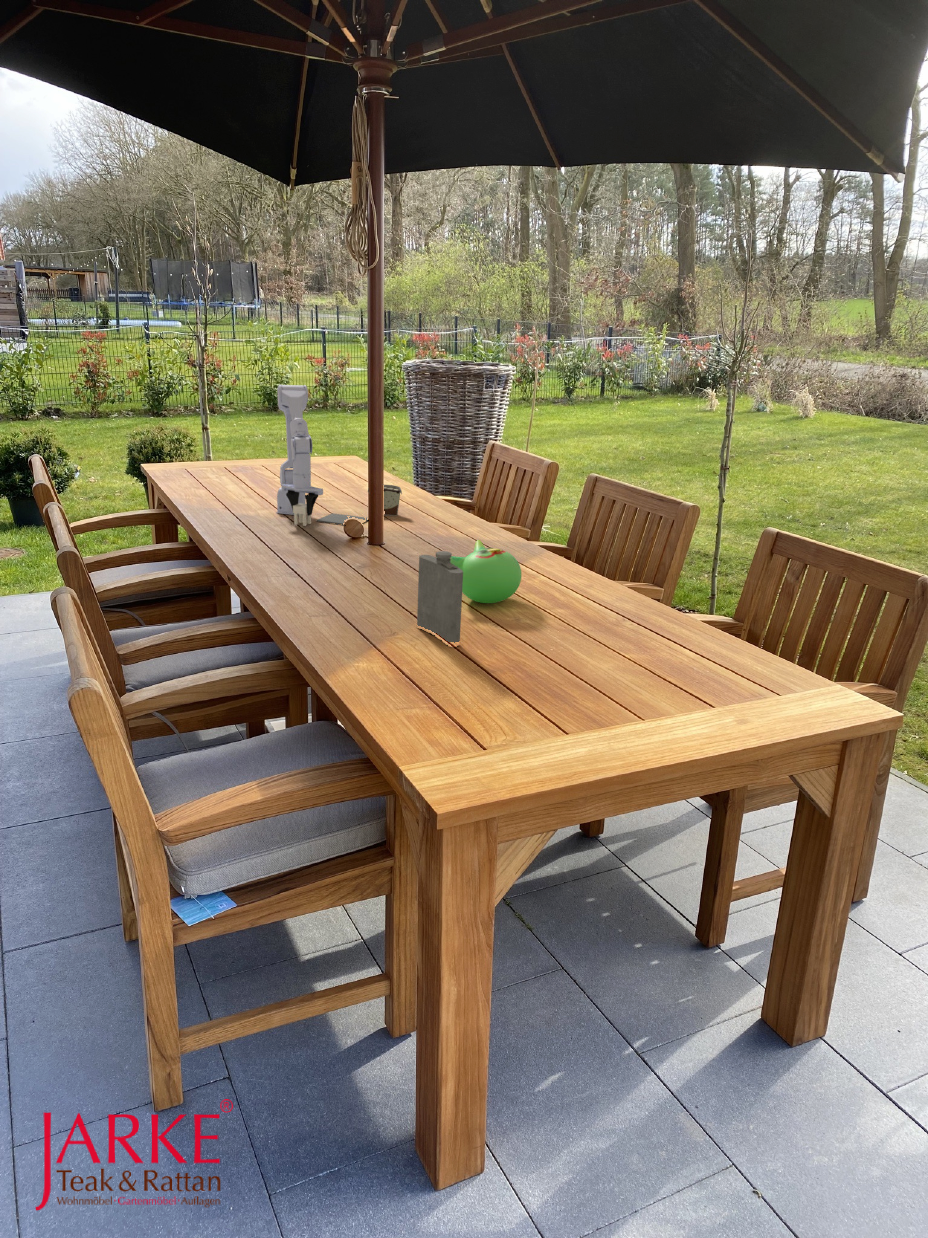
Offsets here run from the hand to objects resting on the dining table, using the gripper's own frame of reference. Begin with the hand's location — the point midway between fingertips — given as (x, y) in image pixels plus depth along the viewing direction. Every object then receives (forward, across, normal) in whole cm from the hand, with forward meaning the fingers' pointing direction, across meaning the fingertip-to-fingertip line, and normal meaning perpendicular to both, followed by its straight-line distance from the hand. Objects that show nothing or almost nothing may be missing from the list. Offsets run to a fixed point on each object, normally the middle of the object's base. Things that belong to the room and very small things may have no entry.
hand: (302, 513), depth 299 cm
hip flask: (+4, +78, -79) cm, 111 cm away
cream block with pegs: (+3, 0, 0) cm, 3 cm away
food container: (+4, +17, +31) cm, 36 cm away
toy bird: (+4, +80, -49) cm, 94 cm away
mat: (+4, +9, +13) cm, 16 cm away
